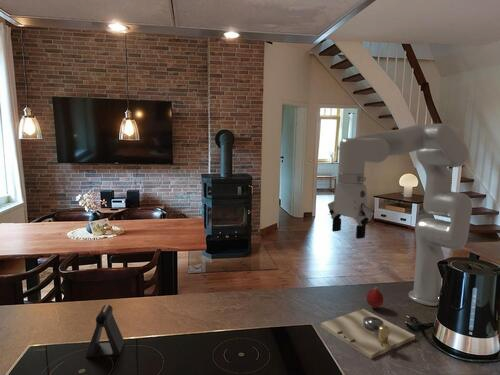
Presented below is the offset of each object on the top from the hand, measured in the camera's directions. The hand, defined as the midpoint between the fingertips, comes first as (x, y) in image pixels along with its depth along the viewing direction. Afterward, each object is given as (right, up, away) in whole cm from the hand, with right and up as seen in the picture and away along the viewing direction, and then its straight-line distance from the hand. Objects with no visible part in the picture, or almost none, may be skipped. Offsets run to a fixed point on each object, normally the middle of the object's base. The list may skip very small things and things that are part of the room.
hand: (348, 234), depth 108 cm
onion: (+15, -30, +19) cm, 38 cm away
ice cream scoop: (+9, -30, -1) cm, 31 cm away
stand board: (+6, -31, +2) cm, 32 cm away
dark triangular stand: (-71, -32, -9) cm, 79 cm away
